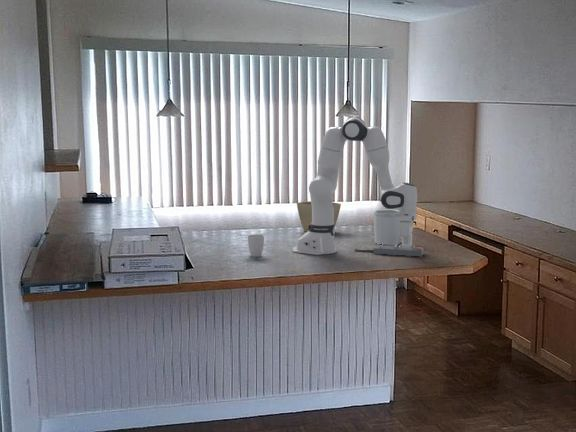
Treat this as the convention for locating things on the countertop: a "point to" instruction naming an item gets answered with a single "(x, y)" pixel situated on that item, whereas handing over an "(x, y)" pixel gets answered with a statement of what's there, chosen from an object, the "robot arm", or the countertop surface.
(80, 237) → the countertop surface
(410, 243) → the charger
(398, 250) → the power strip
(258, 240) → the cup
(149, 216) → the countertop surface
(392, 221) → the utensil holder
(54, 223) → the countertop surface
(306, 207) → the flower pot
